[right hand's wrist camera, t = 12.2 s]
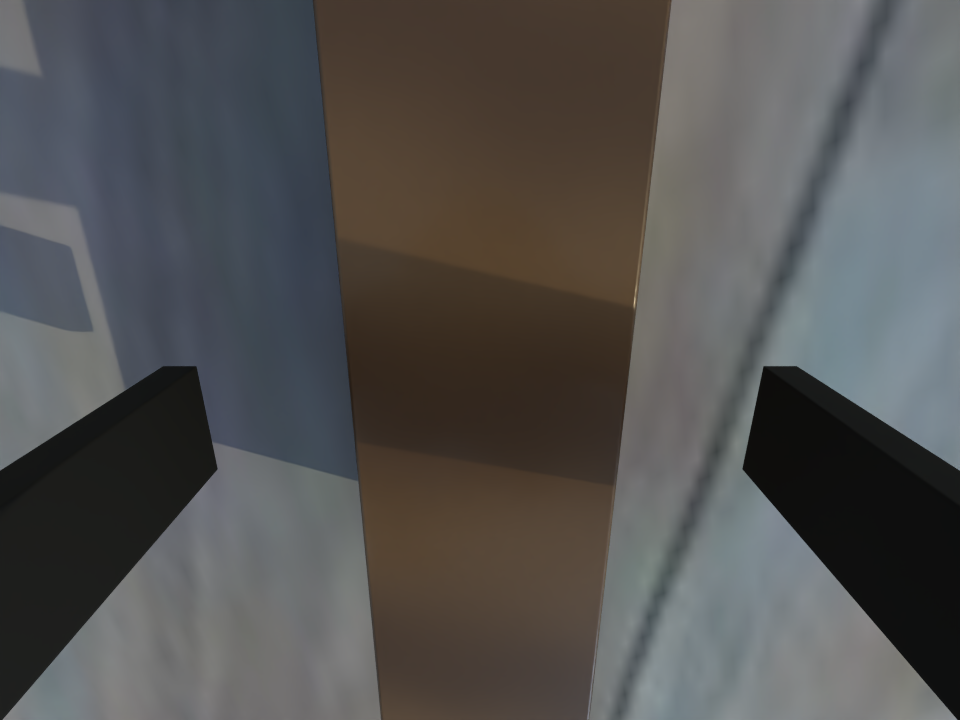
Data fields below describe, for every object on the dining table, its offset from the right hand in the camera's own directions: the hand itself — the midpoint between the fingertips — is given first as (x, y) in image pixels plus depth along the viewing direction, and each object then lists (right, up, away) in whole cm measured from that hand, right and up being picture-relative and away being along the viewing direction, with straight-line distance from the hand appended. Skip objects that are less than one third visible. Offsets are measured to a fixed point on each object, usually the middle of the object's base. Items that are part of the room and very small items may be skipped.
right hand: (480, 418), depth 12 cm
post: (0, +26, -5) cm, 27 cm away
